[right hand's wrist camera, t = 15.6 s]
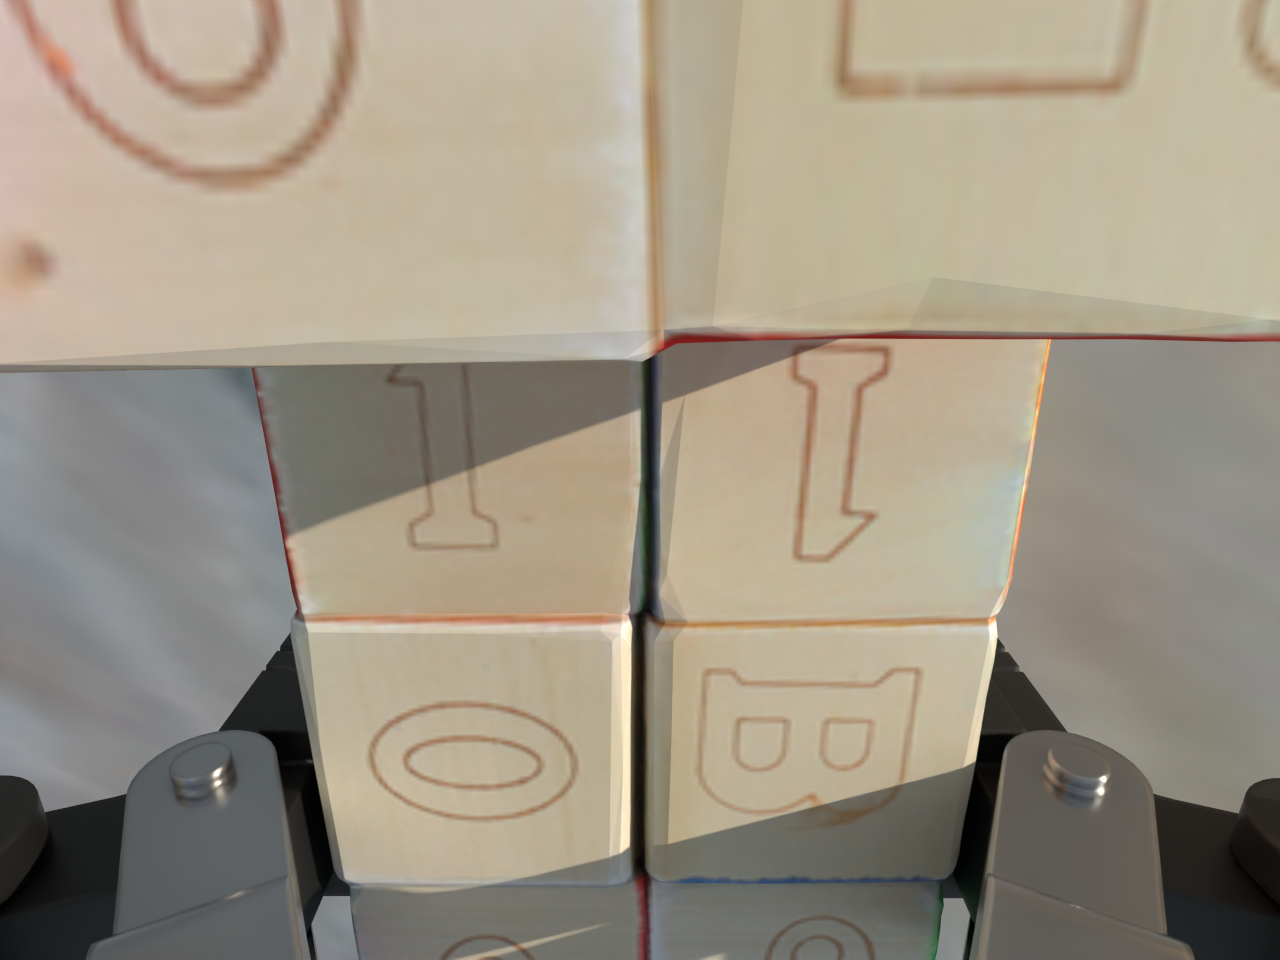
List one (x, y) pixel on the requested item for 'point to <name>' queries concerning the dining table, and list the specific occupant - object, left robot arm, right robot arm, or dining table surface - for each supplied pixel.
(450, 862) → the stack of blocks
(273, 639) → the dining table surface
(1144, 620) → the dining table surface
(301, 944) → the right robot arm
